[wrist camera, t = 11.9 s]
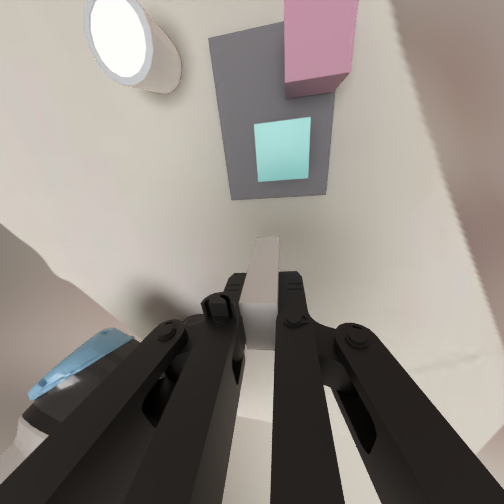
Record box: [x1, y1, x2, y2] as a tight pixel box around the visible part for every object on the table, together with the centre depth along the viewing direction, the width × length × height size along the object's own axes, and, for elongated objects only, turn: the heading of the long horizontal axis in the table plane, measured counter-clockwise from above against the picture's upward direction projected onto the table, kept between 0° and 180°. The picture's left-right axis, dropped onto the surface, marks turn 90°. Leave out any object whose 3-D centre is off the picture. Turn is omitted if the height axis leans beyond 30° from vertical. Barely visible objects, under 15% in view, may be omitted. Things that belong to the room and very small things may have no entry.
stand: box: [208, 0, 358, 200], centre depth 21 cm, size 14×18×9 cm
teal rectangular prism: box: [254, 117, 311, 182], centre depth 22 cm, size 5×5×7 cm
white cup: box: [84, 0, 182, 94], centre depth 21 cm, size 7×7×7 cm
